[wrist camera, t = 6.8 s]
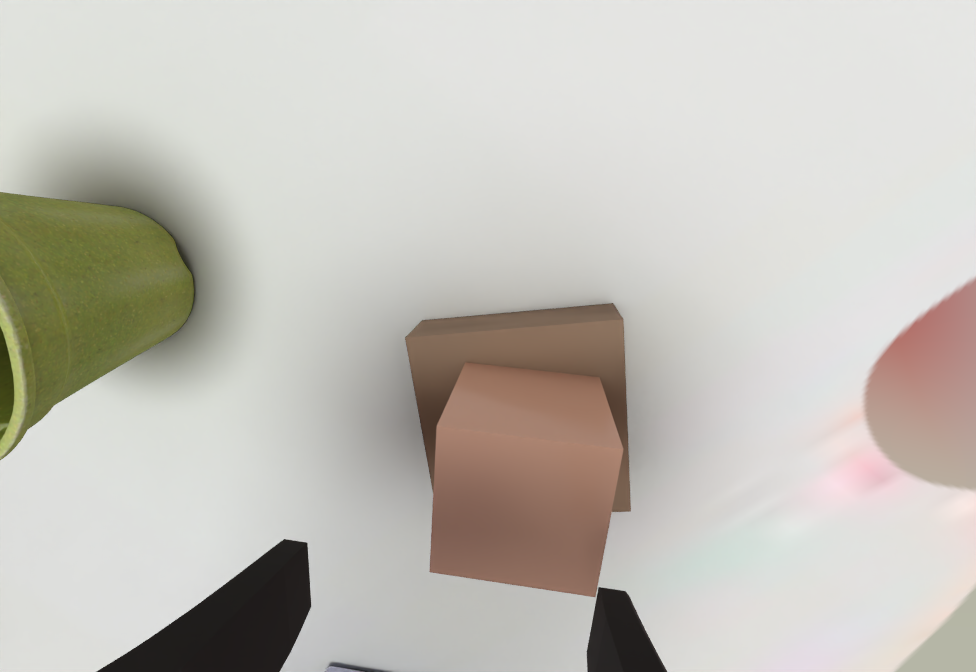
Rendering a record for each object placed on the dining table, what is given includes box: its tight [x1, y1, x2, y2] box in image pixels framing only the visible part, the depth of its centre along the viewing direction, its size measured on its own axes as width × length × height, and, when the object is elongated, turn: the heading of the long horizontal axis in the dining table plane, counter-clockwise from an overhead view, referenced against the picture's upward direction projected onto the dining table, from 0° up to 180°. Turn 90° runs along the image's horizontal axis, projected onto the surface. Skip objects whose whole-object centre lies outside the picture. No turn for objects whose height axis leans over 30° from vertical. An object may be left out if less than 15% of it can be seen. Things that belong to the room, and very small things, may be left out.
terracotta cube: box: [430, 362, 624, 597], centre depth 15 cm, size 5×5×5 cm
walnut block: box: [405, 303, 631, 512], centre depth 19 cm, size 8×8×3 cm
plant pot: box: [0, 192, 194, 460], centre depth 16 cm, size 9×9×9 cm
